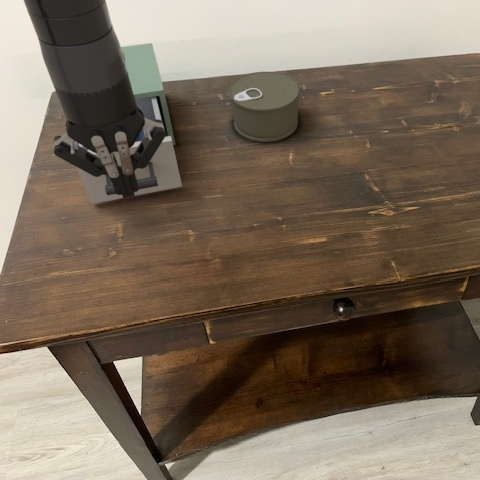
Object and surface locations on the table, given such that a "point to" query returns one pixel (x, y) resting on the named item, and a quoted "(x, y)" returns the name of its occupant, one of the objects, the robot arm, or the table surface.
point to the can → (265, 106)
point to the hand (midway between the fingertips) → (128, 193)
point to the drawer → (150, 178)
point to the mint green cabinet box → (147, 79)
